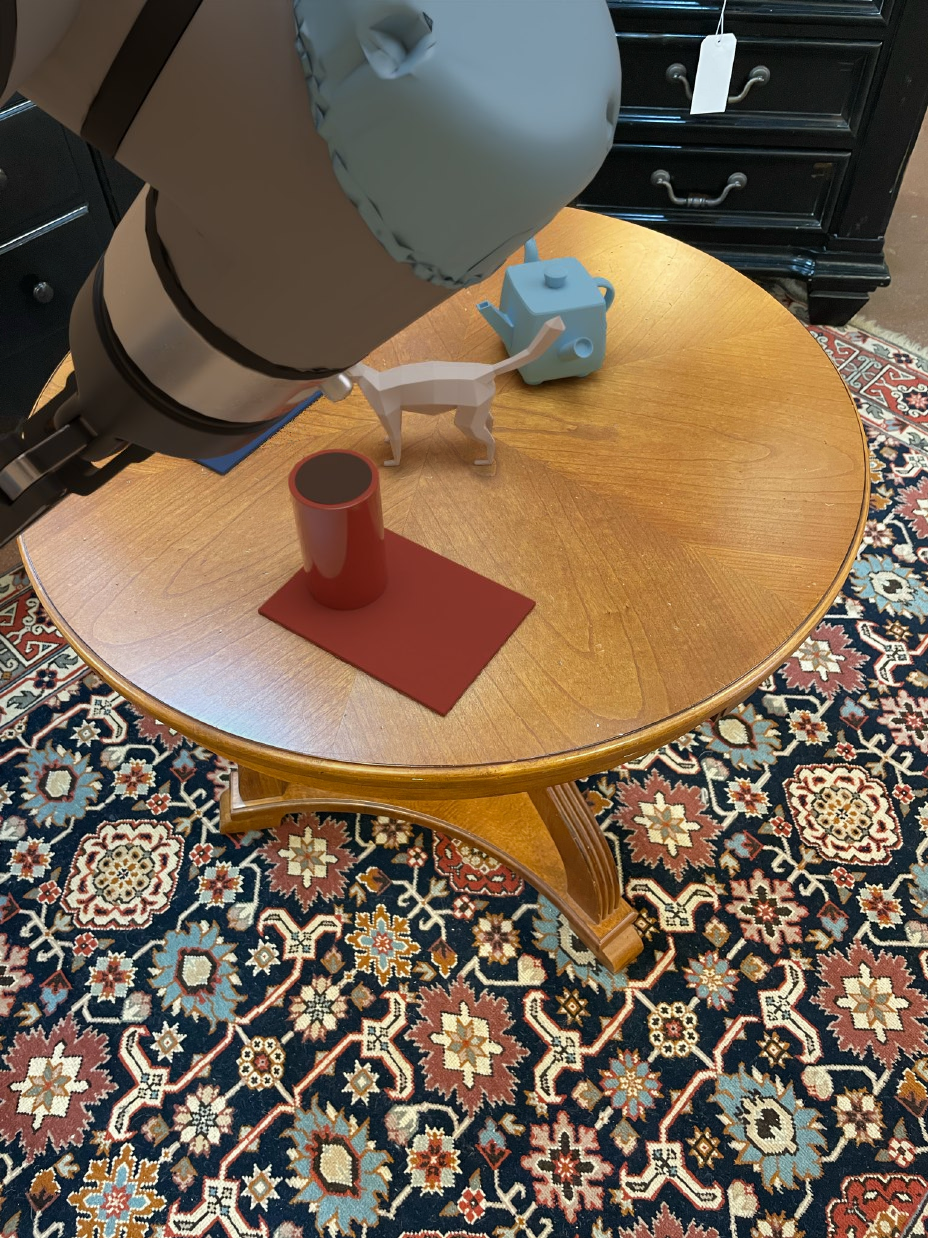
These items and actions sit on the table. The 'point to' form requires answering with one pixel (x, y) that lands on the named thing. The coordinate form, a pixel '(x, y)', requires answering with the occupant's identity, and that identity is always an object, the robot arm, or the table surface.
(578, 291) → the teapot
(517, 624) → the red mat
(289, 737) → the table surface
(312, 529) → the red tumbler
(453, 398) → the cat figurine
